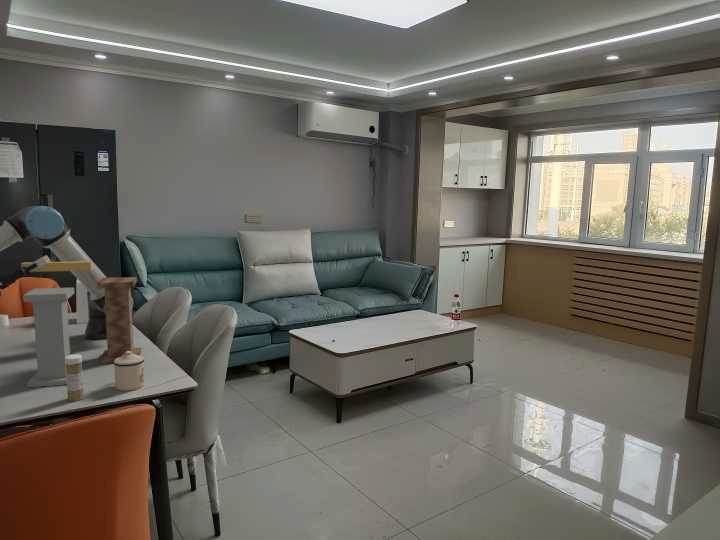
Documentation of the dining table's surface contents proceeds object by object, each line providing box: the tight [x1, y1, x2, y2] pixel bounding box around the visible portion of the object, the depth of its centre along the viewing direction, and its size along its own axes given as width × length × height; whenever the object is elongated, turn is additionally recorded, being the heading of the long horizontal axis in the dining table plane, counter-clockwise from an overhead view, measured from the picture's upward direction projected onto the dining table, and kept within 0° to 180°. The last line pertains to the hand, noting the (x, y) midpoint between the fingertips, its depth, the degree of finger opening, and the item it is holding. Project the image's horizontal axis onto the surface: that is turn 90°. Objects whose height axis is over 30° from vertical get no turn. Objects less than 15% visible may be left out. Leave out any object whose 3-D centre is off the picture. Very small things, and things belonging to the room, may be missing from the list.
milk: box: [75, 278, 89, 324], centre depth 255 cm, size 12×12×26 cm
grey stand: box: [22, 287, 75, 388], centre depth 173 cm, size 13×13×30 cm
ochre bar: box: [20, 260, 93, 273], centre depth 188 cm, size 22×3×3 cm, turn 108°
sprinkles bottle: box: [65, 354, 85, 402], centre depth 158 cm, size 5×5×13 cm
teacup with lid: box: [113, 351, 145, 392], centre depth 171 cm, size 12×9×12 cm
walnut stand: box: [97, 276, 142, 365], centre depth 197 cm, size 13×13×30 cm
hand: (47, 259), depth 187 cm, fingers closed on ochre bar, 3 cm apart
